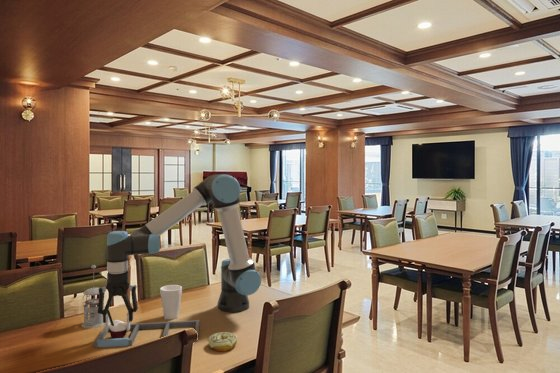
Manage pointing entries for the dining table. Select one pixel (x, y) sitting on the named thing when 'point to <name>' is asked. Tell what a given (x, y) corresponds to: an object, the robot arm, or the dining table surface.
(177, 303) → the foam cup
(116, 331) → the cocoa
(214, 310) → the dining table surface
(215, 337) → the decorated donut
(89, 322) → the french press
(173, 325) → the organizer
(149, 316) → the dining table surface
